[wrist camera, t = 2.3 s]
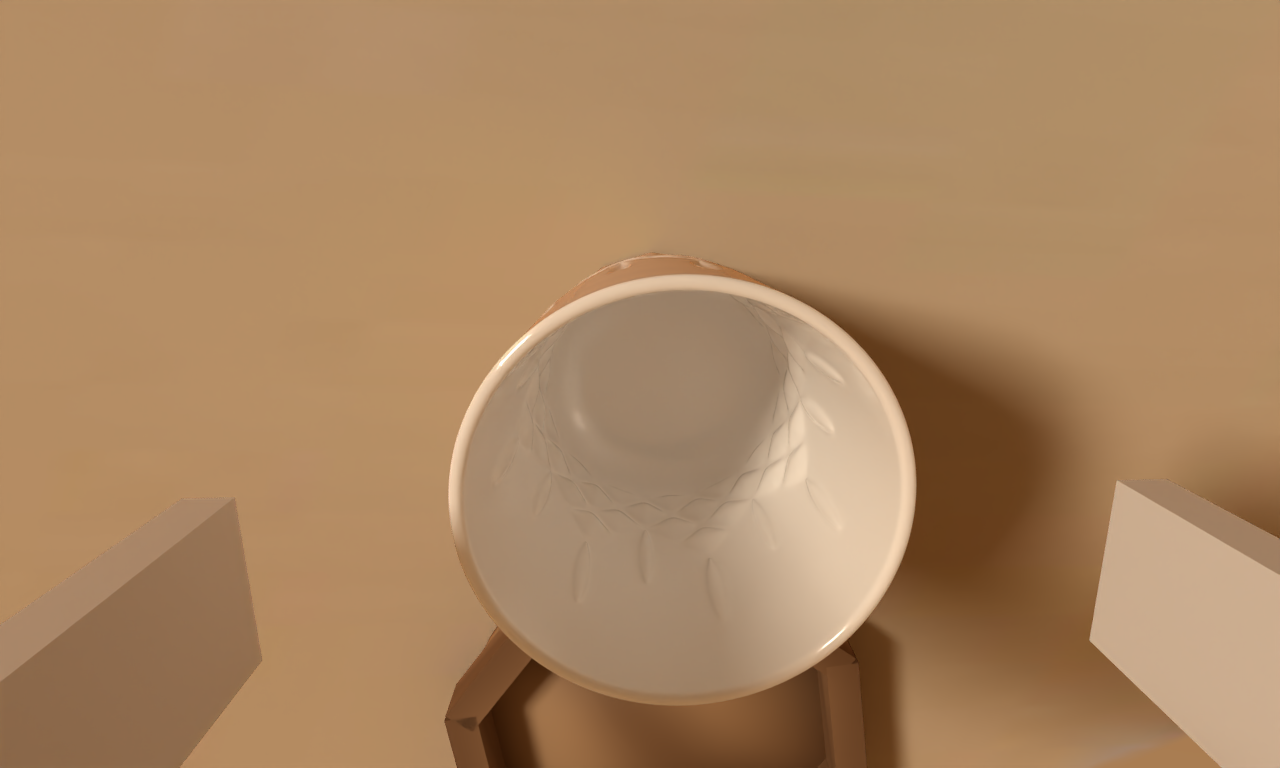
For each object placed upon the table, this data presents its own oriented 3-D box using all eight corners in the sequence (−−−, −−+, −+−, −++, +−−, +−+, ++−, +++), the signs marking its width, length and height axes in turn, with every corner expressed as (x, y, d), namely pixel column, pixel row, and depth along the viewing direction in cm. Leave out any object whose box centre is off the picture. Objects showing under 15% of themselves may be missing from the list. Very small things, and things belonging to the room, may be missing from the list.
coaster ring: (617, 470, 23) (616, 499, 21) (922, 676, 25) (948, 720, 23) (400, 749, 25) (380, 799, 23) (693, 912, 28) (698, 969, 26)
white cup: (832, 410, 22) (989, 585, 13) (611, 527, 23) (601, 773, 14) (711, 180, 20) (788, 176, 11) (476, 317, 21) (351, 429, 12)
